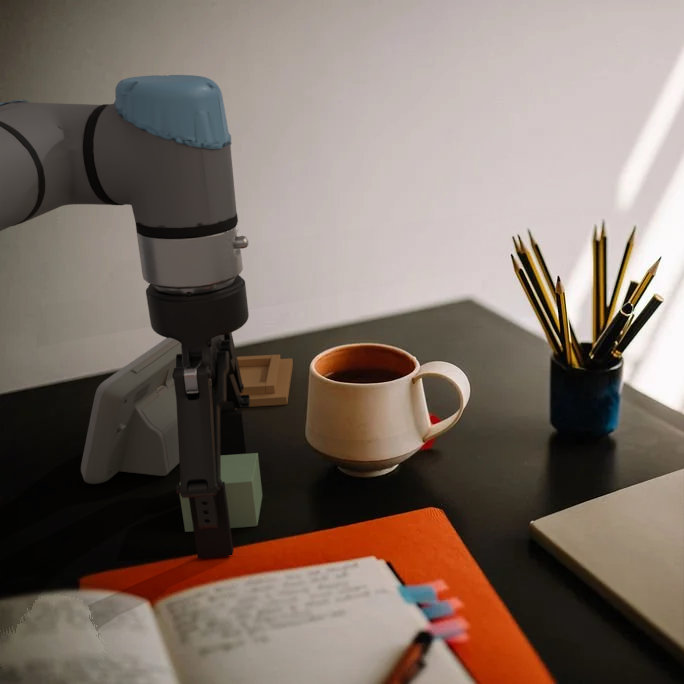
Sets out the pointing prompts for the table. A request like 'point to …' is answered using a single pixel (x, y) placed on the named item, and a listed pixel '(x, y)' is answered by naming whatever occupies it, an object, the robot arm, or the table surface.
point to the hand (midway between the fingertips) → (225, 511)
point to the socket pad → (266, 379)
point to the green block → (236, 491)
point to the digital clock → (135, 419)
